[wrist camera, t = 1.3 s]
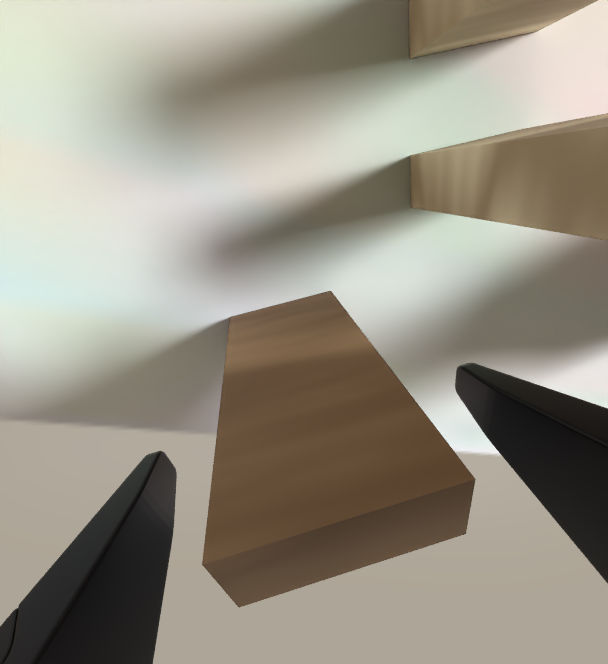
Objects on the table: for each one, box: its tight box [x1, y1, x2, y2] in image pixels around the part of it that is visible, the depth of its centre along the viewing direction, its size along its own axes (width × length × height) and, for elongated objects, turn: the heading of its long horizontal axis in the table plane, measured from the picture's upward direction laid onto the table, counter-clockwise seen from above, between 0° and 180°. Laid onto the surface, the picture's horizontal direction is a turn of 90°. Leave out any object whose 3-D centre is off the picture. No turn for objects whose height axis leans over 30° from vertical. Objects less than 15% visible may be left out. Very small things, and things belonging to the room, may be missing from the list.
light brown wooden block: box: [411, 113, 608, 240], centre depth 8 cm, size 2×5×10 cm, turn 101°
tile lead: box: [202, 291, 475, 607], centre depth 10 cm, size 2×5×10 cm, turn 101°
